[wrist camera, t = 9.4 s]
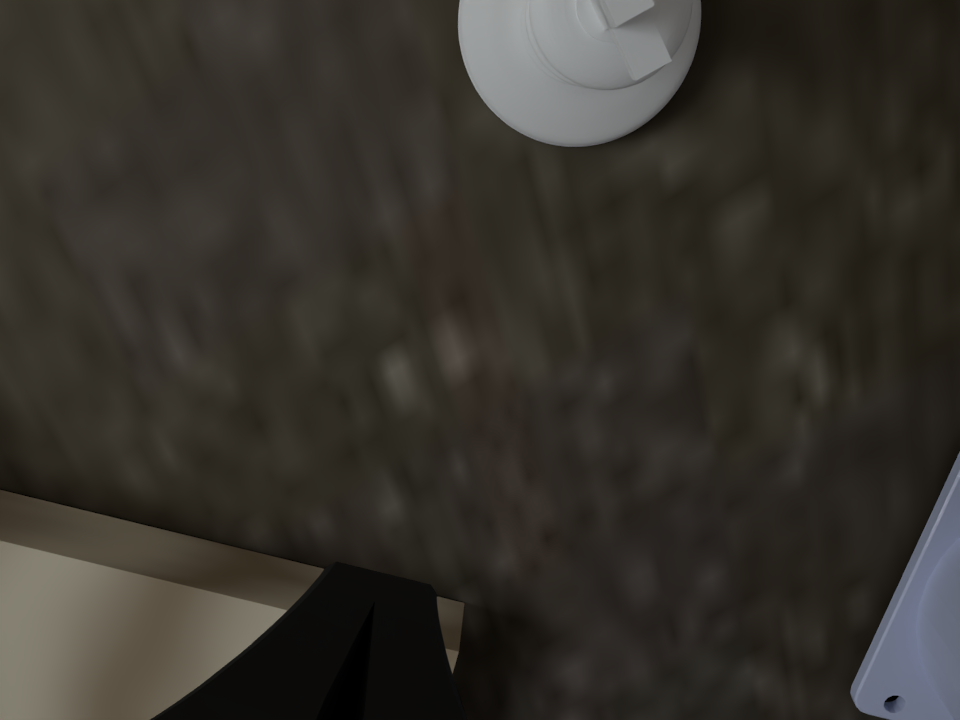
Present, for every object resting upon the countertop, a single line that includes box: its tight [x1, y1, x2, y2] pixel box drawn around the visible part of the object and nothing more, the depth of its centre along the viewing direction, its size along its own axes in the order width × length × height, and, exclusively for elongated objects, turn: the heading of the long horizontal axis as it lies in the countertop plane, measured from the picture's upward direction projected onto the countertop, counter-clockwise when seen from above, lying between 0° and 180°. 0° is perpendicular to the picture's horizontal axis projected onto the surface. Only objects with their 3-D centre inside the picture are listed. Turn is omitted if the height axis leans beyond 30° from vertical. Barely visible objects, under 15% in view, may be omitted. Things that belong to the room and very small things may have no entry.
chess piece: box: [458, 0, 701, 147], centre depth 14 cm, size 5×5×10 cm
